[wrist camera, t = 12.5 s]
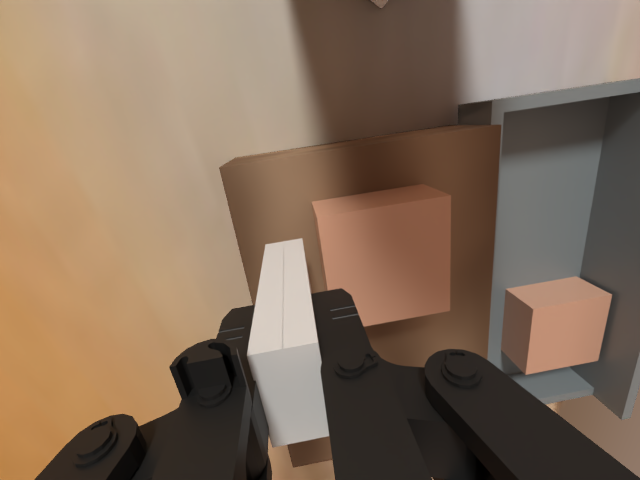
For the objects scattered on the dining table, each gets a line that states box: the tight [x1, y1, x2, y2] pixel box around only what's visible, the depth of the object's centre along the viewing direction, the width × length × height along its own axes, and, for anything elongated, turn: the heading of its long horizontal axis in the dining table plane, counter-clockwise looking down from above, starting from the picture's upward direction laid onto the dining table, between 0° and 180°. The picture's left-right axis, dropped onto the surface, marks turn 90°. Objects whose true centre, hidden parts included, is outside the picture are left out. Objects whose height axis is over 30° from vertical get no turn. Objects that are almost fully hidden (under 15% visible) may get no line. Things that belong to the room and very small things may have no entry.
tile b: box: [312, 184, 451, 326], centre depth 13 cm, size 5×5×2 cm
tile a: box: [501, 276, 612, 375], centre depth 21 cm, size 5×5×2 cm
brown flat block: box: [219, 125, 501, 467], centre depth 18 cm, size 12×18×4 cm, turn 8°
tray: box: [458, 78, 640, 420], centre depth 19 cm, size 9×20×5 cm, turn 8°
